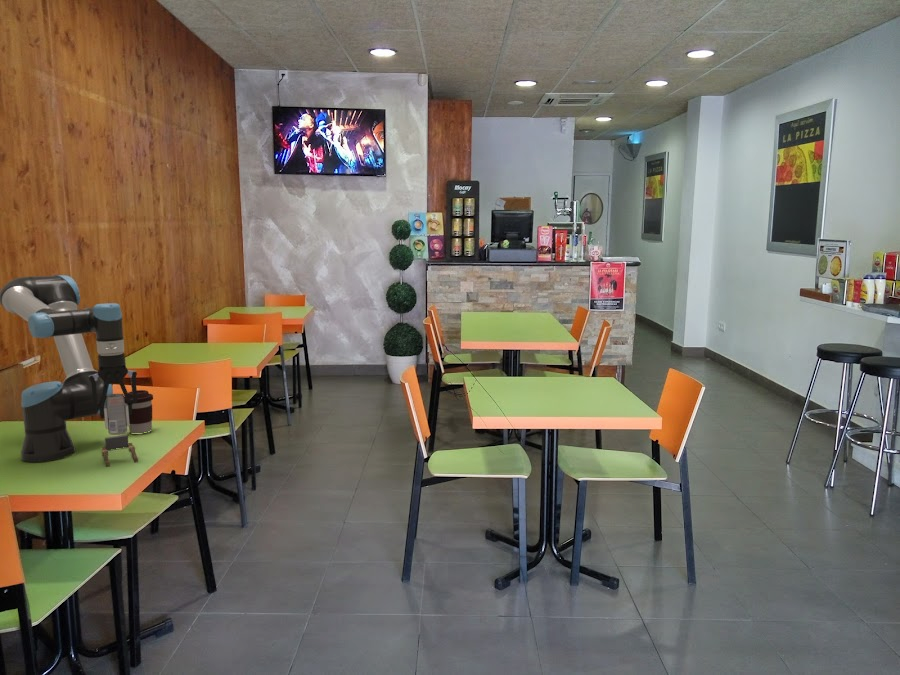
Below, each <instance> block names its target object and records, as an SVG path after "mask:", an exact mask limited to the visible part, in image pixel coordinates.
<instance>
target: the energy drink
mask: <svg viewBox="0 0 900 675" xmlns="http://www.w3.org/2000/svg"><path fill="white" fill-rule="evenodd" d="M106 408H107V417H108V428H109V429H107V432H108V434H109V435H111V436H119V435H124V434H126V433H127V432H128V426H127V422H126V410H125V396H124V394H123V393H113V394H110V395H107V396H106Z"/></svg>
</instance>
